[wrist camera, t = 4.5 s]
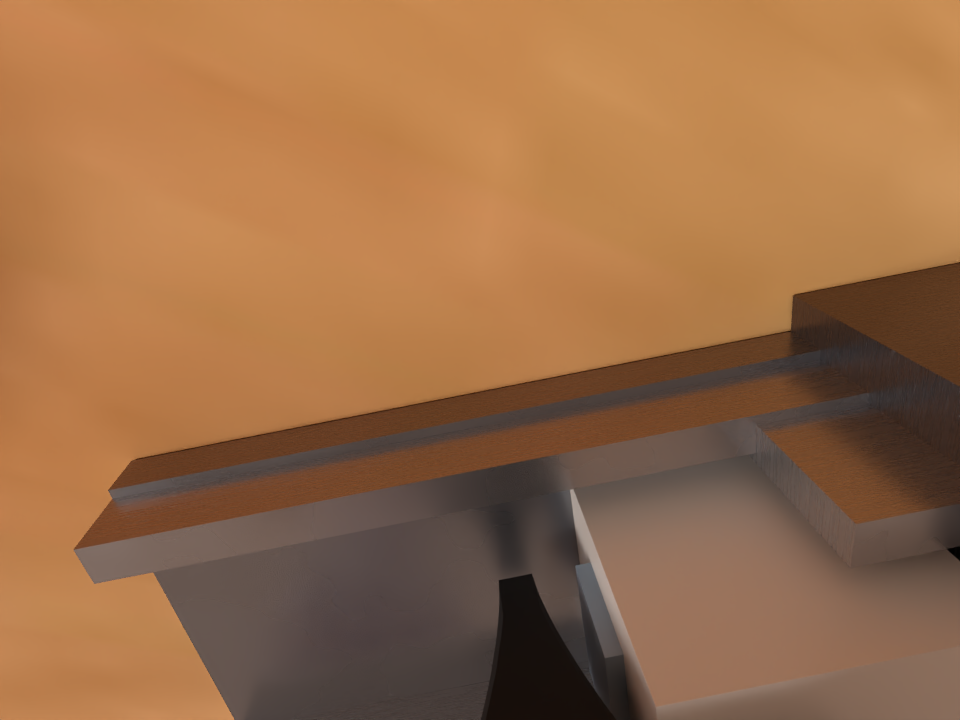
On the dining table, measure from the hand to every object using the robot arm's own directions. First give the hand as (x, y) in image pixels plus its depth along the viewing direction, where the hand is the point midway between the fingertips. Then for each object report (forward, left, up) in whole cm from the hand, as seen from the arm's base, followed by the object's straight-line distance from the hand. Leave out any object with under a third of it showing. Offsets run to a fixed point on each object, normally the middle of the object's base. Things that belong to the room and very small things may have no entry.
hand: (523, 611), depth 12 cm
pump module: (0, -4, -1) cm, 4 cm away
